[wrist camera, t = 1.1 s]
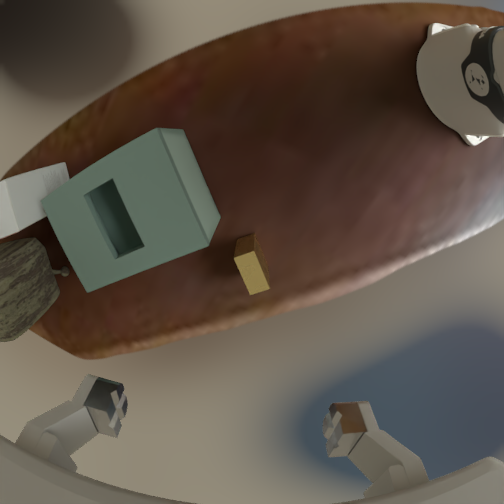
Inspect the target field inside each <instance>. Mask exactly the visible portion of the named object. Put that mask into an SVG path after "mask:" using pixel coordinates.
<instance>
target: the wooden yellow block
mask: <svg viewBox="0 0 504 504" xmlns="http://www.w3.org/2000/svg"><path fill="white" fill-rule="evenodd" d="M234 260H235V262H236V265H237V267H238V269H239V271H240V274H241V276H242V278H243V280H244V282H245V285H246V287H247V289H248V291H249V293H250V295H252V294H255V293H259V292H262V291H265V290H268V289H270V284H269V270H268V265H267V262H266V260H265V257H264V255H263V252H262V250H261V248H260V245H259V243H258V240H257V238H256V235H255V233H254V234H251V235H248V236H246V237H243V238H240V239H237V243H236V248H235V253H234Z"/></svg>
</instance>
